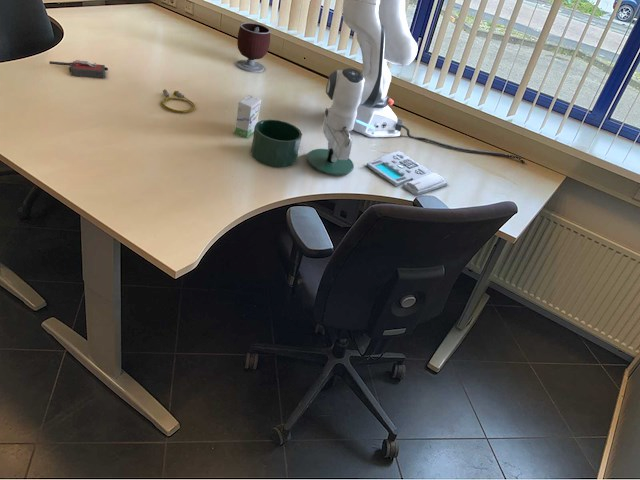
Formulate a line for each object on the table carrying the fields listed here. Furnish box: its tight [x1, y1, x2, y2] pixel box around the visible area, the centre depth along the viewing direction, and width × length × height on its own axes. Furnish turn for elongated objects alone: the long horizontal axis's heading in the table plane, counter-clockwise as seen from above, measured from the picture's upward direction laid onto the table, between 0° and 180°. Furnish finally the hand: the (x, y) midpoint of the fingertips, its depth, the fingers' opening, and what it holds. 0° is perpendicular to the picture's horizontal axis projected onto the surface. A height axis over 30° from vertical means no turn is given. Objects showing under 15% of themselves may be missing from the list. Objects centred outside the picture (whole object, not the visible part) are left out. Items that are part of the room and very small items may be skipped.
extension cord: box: [160, 89, 196, 114], centre depth 198 cm, size 12×16×2 cm
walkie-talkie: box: [48, 59, 109, 79], centre depth 201 cm, size 9×4×20 cm
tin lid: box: [306, 148, 355, 176], centre depth 185 cm, size 16×16×5 cm
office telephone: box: [366, 150, 449, 196], centre depth 192 cm, size 23×3×20 cm
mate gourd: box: [235, 22, 271, 73], centre depth 237 cm, size 16×14×20 cm
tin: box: [250, 118, 303, 169], centre depth 180 cm, size 15×15×10 cm
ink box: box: [234, 94, 262, 139], centre depth 189 cm, size 8×5×12 cm, turn 162°
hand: (331, 157), depth 185 cm, fingers closed on tin lid, 2 cm apart
